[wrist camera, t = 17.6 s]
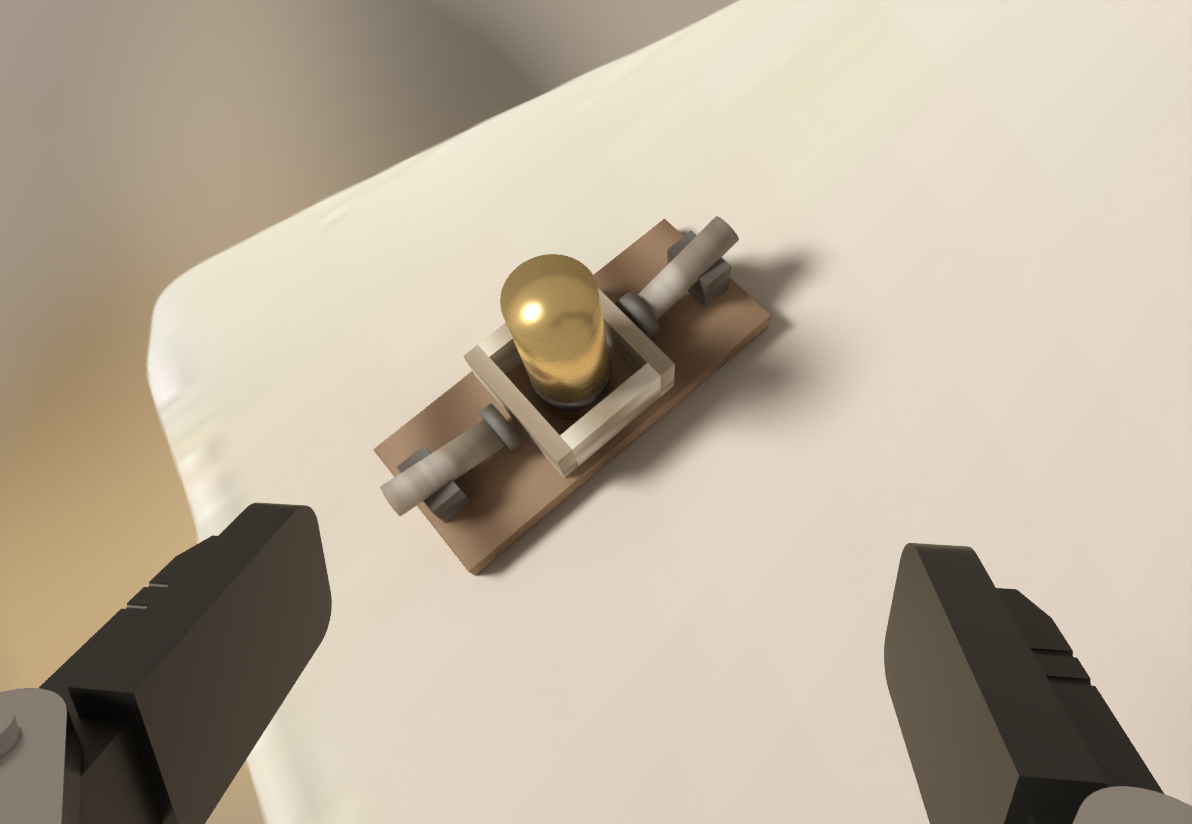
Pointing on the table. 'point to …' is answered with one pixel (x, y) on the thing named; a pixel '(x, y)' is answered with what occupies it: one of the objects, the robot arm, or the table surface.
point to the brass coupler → (559, 333)
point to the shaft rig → (582, 447)
